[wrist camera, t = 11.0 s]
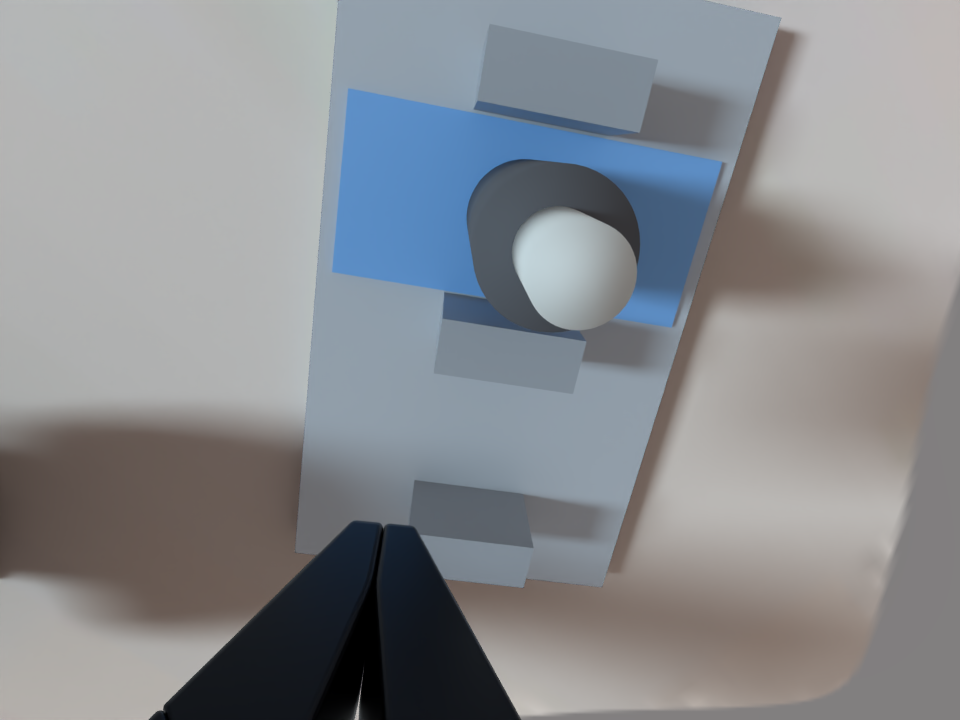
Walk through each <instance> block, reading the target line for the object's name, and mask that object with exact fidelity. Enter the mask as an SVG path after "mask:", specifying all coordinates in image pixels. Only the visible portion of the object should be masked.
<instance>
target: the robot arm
mask: <svg viewBox="0 0 960 720" xmlns="http://www.w3.org/2000/svg"><path fill="white" fill-rule="evenodd" d="M363 670H364V671H363ZM362 677H363V679H362ZM361 684H362V687H361ZM360 689H361V696H360V704H359V720H521V718H520V717H519V715H518V713H517V711H516V709H515V707H514V706H513V704H512V702H511V700H510V698H509V697H508V695H507V693H506V691H505V689H504V687H503V686H502V684H501V682H500V680H499V678H498V677H497V675H496V673H495V671H494V669H493V667H492V666H491V664H490V662H489V660H488V658H487V656H486V655H485V653H484V651H483V649H482V647H481V646H480V644H479V642H478V640H477V638H476V636H475V635H474V633H473V631H472V629H471V627H470V625H469V624H468V622H467V620H466V618H465V616H464V615H463V613H462V611H461V609H460V607H459V605H458V604H457V602H456V600H455V598H454V596H453V595H452V593H451V591H450V589H449V587H448V585H447V584H446V582H445V580H444V578H443V576H442V574H441V573H440V571H439V569H438V567H437V565H436V564H435V562H434V560H433V558H432V556H431V554H430V553H429V551H428V549H427V547H426V545H425V544H424V542H423V540H422V538H421V536H420V534H419V533H418V531H417V529H416V528H415V527H414V526H411V525H402V524H391V523H389V524H386V525H385V526H384V529H383V526H382V524H381V523H379V522H371V521H361V520H354V521H352V522H350V523H349V524H348V525H347V526H346V527H345V528H344V529H343V530H342V531H341V532H340V533H339V534H338V535H337V536H336V537H335V538H334V539H333V540H332V541H331V542H330V543H329V544H328V545H327V546H326V547H325V548H324V549H323V550H322V551H321V552H320V553H319V554H317V555H316V556H315V557H314V558H313V559H312V560H311V561H310V562H309V563H308V564H307V565H306V566H305V567H304V568H303V569H302V570H301V571H300V572H299V573H298V574H297V575H296V576H295V577H294V578H293V579H292V580H291V581H290V582H289V583H288V584H287V585H286V586H285V587H284V588H283V589H282V590H281V591H280V592H279V593H278V594H277V595H276V596H275V597H274V598H273V599H272V600H271V601H270V602H269V603H268V604H267V605H266V606H264V607H263V608H262V609H261V610H260V611H259V612H258V613H257V614H256V615H255V616H254V617H253V618H252V619H251V620H250V621H249V622H248V623H247V624H246V625H245V626H244V627H243V628H242V629H241V630H240V631H239V632H238V633H237V634H236V635H235V636H234V637H233V638H232V639H231V640H230V641H229V642H228V643H227V644H226V645H225V646H224V647H223V648H222V649H221V650H220V651H219V652H218V653H217V654H216V655H215V656H214V657H213V658H211V659H210V660H209V661H208V662H207V663H206V664H205V665H204V666H203V667H202V668H201V669H200V670H199V671H198V672H197V673H196V674H195V675H194V676H193V677H192V678H191V679H190V680H189V681H188V682H187V683H186V684H185V685H184V686H183V687H182V688H181V689H180V690H179V691H178V692H177V693H176V694H175V695H174V696H173V697H172V698H171V699H170V700H169V701H168V702H167V703H166V704H165V705H164V708H163V711H157V712H156V713H155V714H154V715H153V716H152V717H151V718H150V719H149V720H354V718H355V714H356V710H357V706H358V701H359V695H360Z"/></svg>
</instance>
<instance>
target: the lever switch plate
mask: <svg viewBox="0 0 960 720" xmlns="http://www.w3.org/2000/svg"><path fill="white" fill-rule="evenodd" d="M780 21H781V18H780V17H775V16H771V15H767V14H762V13H758V12H753V11H749V10H745V9H740V8H736V7H731V6H727V5H723V4H718V3H714V2H709V1H705V0H338V8H337V21H336V33H335V46H334V59H333V72H332V84H331V97H330V110H329V123H328V135H327V148H326V161H325V174H324V186H323V199H322V212H321V225H320V237H319V250H318V263H317V276H316V288H315V301H314V314H313V327H312V339H311V352H310V365H309V378H308V390H307V403H306V416H305V429H304V441H303V454H302V467H301V480H300V492H299V505H298V518H297V530H296V543H295V553H302V554H311V555H317V554H319V553H320V552H321V551H322V550H323V549H324V548H325V547H326V546H327V545H328V544H329V543H330V542H331V541H332V540H333V539H334V538H335V537H336V536H337V535H338V534H339V533H340V532H341V531H342V530H343V529H344V528H345V527H346V526H347V525H348V524H349V523H350V522H352V521H354V520H361V521H371V522H379V523H381V524H382V526H383V529H384V526H385V525H386V524H389V523H391V524H402V525H411V526H414V527H415V528H416V529H417V531H418V533H419V534H420V536H421V538H422V540H423V542H424V544H425V545H426V547H427V549H428V551H429V553H430V554H431V556H432V558H433V560H434V562H435V564H436V565H437V567H438V569H439V571H440V573H441V574H442V576H443V578H444V579H448V580H457V581H466V582H475V583H484V584H493V585H502V586H511V587H519V588H524V584H525V580H526V579H532V580H541V581H550V582H559V583H568V584H576V585H585V586H594V587H602V586H603V583H604V579H605V576H606V573H607V570H608V567H609V563H610V560H611V557H612V554H613V551H614V548H615V544H616V541H617V538H618V535H619V532H620V529H621V525H622V522H623V519H624V516H625V513H626V510H627V506H628V503H629V500H630V497H631V494H632V491H633V487H634V484H635V481H636V478H637V475H638V471H639V468H640V465H641V462H642V459H643V456H644V452H645V449H646V446H647V443H648V440H649V437H650V433H651V430H652V427H653V424H654V421H655V418H656V414H657V411H658V408H659V405H660V402H661V399H662V395H663V392H664V389H665V386H666V383H667V379H668V376H669V373H670V370H671V367H672V364H673V360H674V357H675V354H676V351H677V348H678V345H679V341H680V338H681V335H682V332H683V329H684V326H685V322H686V319H687V316H688V313H689V310H690V307H691V303H692V300H693V297H694V294H695V291H696V287H697V284H698V281H699V278H700V275H701V272H702V268H703V265H704V262H705V259H706V256H707V253H708V249H709V246H710V243H711V240H712V237H713V234H714V230H715V227H716V224H717V221H718V218H719V214H720V211H721V208H722V205H723V202H724V199H725V195H726V192H727V189H728V186H729V183H730V180H731V176H732V173H733V170H734V167H735V164H736V161H737V157H738V154H739V151H740V148H741V145H742V142H743V138H744V135H745V132H746V129H747V126H748V122H749V119H750V116H751V113H752V110H753V107H754V103H755V100H756V97H757V94H758V91H759V88H760V84H761V81H762V78H763V75H764V72H765V69H766V65H767V62H768V59H769V56H770V53H771V50H772V46H773V43H774V40H775V37H776V34H777V30H778V27H779V24H780ZM518 159H531V160H541V161H551V162H560V163H570V164H577V165H581V166H585V167H588V168H590V169H593V170H595V171H597V172H599V173H601V174H602V175H604V176H606V177H607V178H608V179H610V180H611V181H612V182H613V183H614V184H616V185H617V187H618V188H619V189H620V190H621V191H622V192H623V193H624V195H625V196H626V198H627V199H628V201H629V202H630V204H631V206H632V208H633V210H634V213H635V216H636V219H637V222H638V227H639V232H640V254H639V260H638V264H637V279H636V284H635V288H634V291H633V293H632V296H631V298H630V300H629V301H628V303H627V304H626V306H625V307H624V308H623V309H622V311H621V312H620V313H619V314H618V315H616V316H615V317H614V318H613V319H611V320H610V321H608V322H607V323H605V324H603V325H601V326H598V327H595V328H592V329H587V330H571V331H565V332H554V333H548V332H538V331H534V330H529V329H526V328H524V327H521V326H518V325H516V324H515V323H513V322H511V321H509V320H508V319H506V318H505V317H503V316H502V315H501V314H500V313H499V312H498V311H497V310H495V309H494V308H493V306H492V305H491V304H490V303H489V301H488V300H487V299H486V297H485V296H484V294H483V292H482V290H481V288H480V286H479V284H478V282H477V278H476V275H475V272H474V266H473V260H472V254H471V247H470V241H469V235H468V229H467V208H468V204H469V200H470V197H471V195H472V193H473V191H474V189H475V187H476V186H477V184H478V183H479V181H480V180H481V179H482V178H483V177H484V176H485V175H486V174H487V173H488V172H489V171H490V170H492V169H494V168H495V167H497V166H499V165H501V164H503V163H505V162H508V161H512V160H518Z"/></svg>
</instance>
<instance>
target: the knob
mask: <svg viewBox="0 0 960 720" xmlns="http://www.w3.org/2000/svg"><path fill="white" fill-rule="evenodd" d="M467 229H468V235H469V241H470V247H471V254H472V260H473V266H474V272H475V275H476V278H477V282H478V284H479V286H480V288H481V290H482V292H483V294H484V296H485V297H486V299H487V300H488V301H489V303H490V304H491V305H492V306H493V308H494V309H495V310H497V311H498V312H499V313H500V314H501V315H502V316H503V317H505V318H506V319H508V320H509V321H511V322H513V323H515V324H516V325H518V326H521V327H524V328H526V329H529V330H534V331H538V332H548V333H554V332H565V331H571V330H587V329H592V328H595V327H598V326H601V325H603V324H605V323H607V322H608V321H610V320H611V319H613V318H614V317H615V316H616V315H618V314H619V313H620V312H621V311H622V309H623V308H624V307H625V306H626V304H627V303H628V301H629V300H630V298H631V296H632V293H633V291H634V288H635V284H636V279H637V264H638V260H639V254H640V232H639V227H638V222H637V219H636V216H635V213H634V210H633V208H632V206H631V204H630V202H629V201H628V199H627V198H626V196H625V195H624V193H623V192H622V191H621V190H620V189H619V188H618V187H617V185H616V184H614V183H613V182H612V181H611V180H610V179H608V178H607V177H606V176H604V175H602V174H601V173H599V172H597V171H595V170H593V169H590V168H588V167H585V166H581V165H577V164H570V163H560V162H551V161H541V160H531V159H518V160H512V161H508V162H505V163H503V164H501V165H499V166H497V167H495V168H494V169H492V170H490V171H489V172H488V173H487V174H486V175H485V176H484V177H483V178H482V179H481V180H480V181H479V183H478V184H477V186H476V187H475V189H474V191H473V193H472V195H471V197H470V200H469V204H468V208H467Z"/></svg>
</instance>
